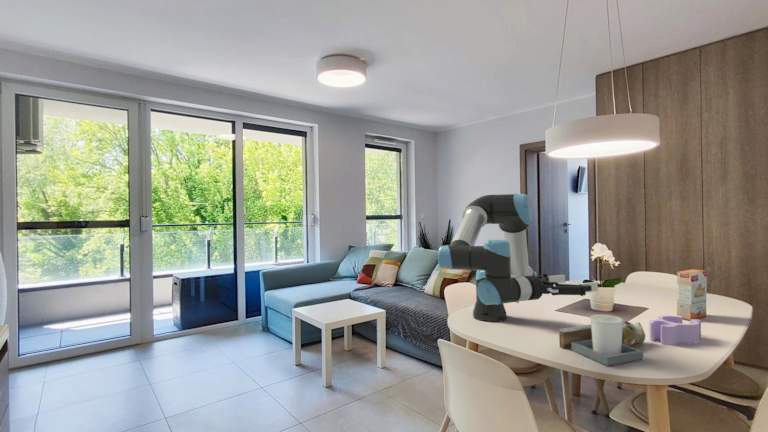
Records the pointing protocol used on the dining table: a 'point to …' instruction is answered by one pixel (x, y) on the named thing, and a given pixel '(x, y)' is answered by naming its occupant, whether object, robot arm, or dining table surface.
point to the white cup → (606, 334)
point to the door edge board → (574, 335)
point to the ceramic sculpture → (632, 334)
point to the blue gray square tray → (587, 350)
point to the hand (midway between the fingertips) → (579, 282)
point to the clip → (674, 330)
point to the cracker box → (691, 293)
